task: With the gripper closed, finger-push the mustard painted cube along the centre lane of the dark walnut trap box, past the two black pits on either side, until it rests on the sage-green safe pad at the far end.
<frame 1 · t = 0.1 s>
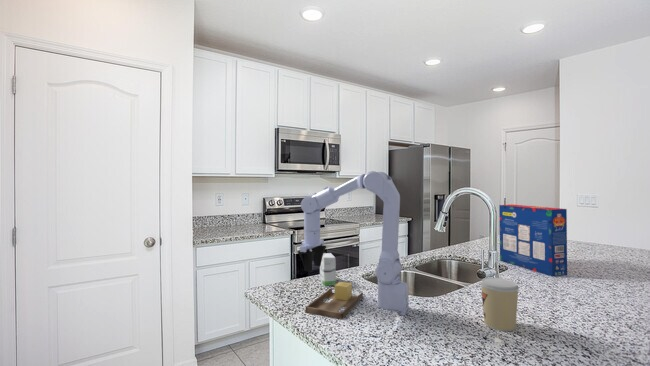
hand: (312, 268, 114), 10 cm above the counter, fingers open, 7 cm apart
pasta box: (530, 267, 148), on the counter
coffee cup: (499, 325, 90), on the counter
ink box: (327, 285, 127), on the counter
block: (343, 297, 110), point 1 cm above the counter, touching trap box
trap box: (335, 307, 104), on the counter
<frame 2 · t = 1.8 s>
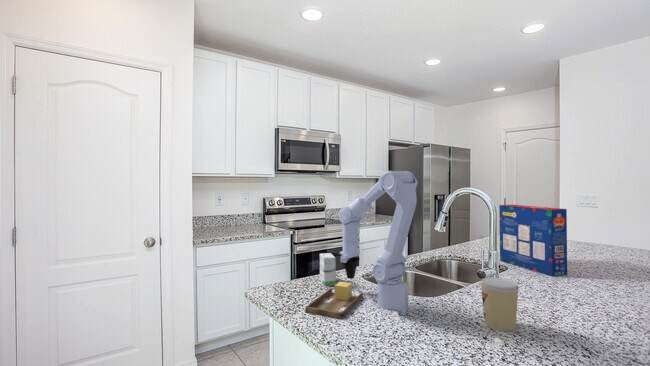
hand: (350, 278, 117), 6 cm above the counter, fingers closed
nothing on the counter moved.
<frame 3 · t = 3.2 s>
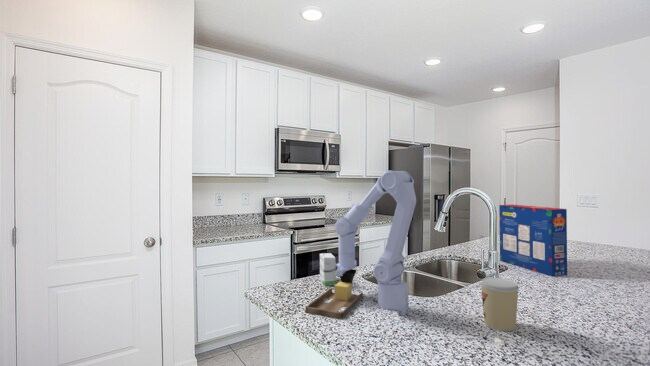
hand: (347, 291, 113), 2 cm above the counter, fingers closed
block: (343, 297, 110), point 1 cm above the counter, touching gripper, trap box
everything else where it was.
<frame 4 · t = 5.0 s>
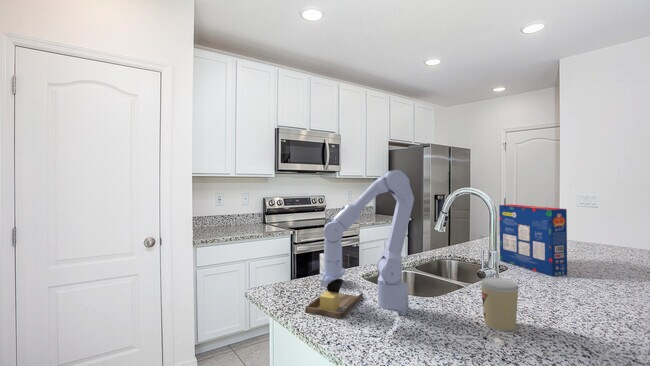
hand: (333, 302, 102), 2 cm above the counter, fingers closed, pressing on block
block: (329, 308, 100), point 1 cm above the counter, touching gripper, trap box
everything else where it was.
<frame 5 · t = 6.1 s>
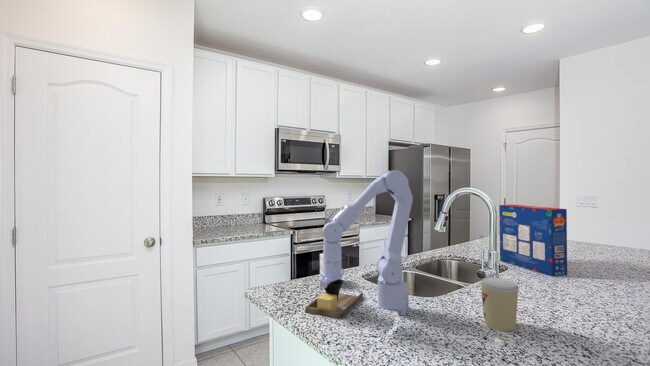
hand: (333, 303, 102), 2 cm above the counter, fingers closed
block: (327, 311, 98), point 1 cm above the counter, touching gripper, trap box
everything else where it was.
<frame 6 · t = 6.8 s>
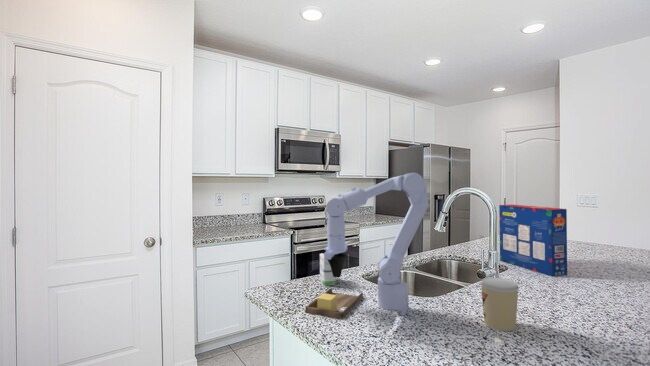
hand: (336, 276, 105), 10 cm above the counter, fingers closed
block: (327, 311, 98), point 1 cm above the counter, touching trap box
everything else where it was.
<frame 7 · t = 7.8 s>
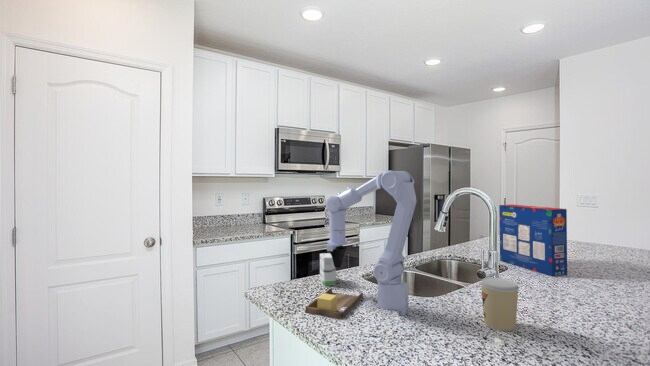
hand: (337, 267, 116), 10 cm above the counter, fingers closed
nothing on the counter moved.
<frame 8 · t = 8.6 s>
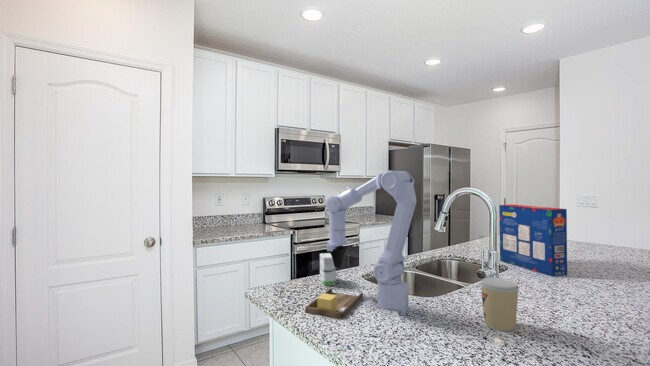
hand: (337, 267, 116), 10 cm above the counter, fingers closed
nothing on the counter moved.
at the end: block 0.2 cm from the target spot on the trap box, point 1.2 cm above the trap box's base; block tilted 0° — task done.
